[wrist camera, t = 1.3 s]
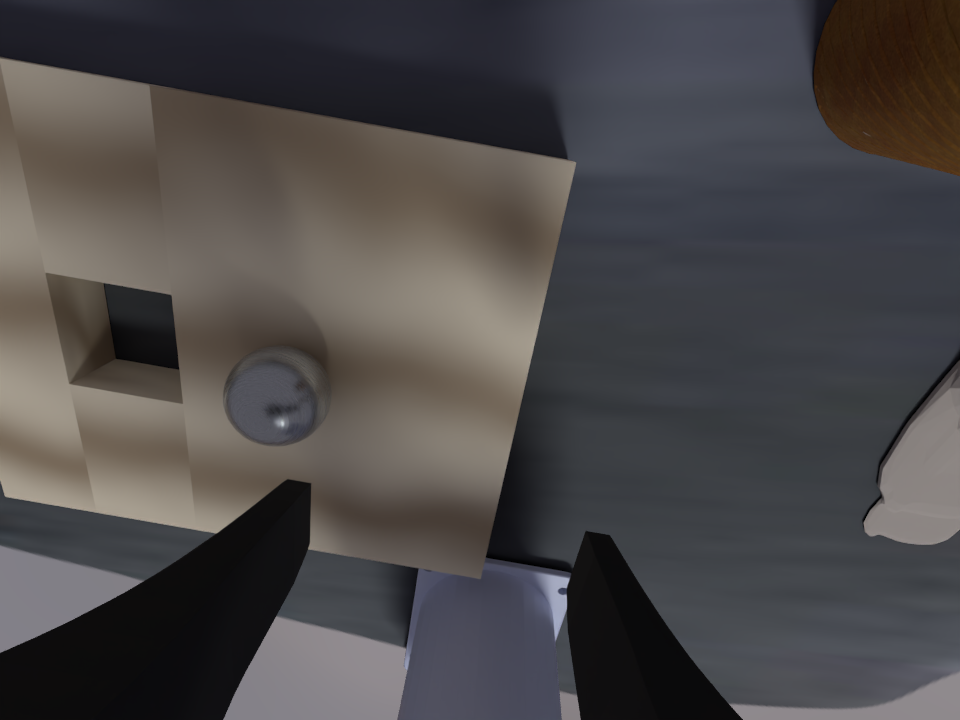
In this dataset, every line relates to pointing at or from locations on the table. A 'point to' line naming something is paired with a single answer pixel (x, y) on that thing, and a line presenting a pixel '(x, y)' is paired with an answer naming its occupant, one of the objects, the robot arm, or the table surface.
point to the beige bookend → (923, 473)
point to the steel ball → (277, 396)
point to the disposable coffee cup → (893, 79)
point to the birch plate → (266, 309)
